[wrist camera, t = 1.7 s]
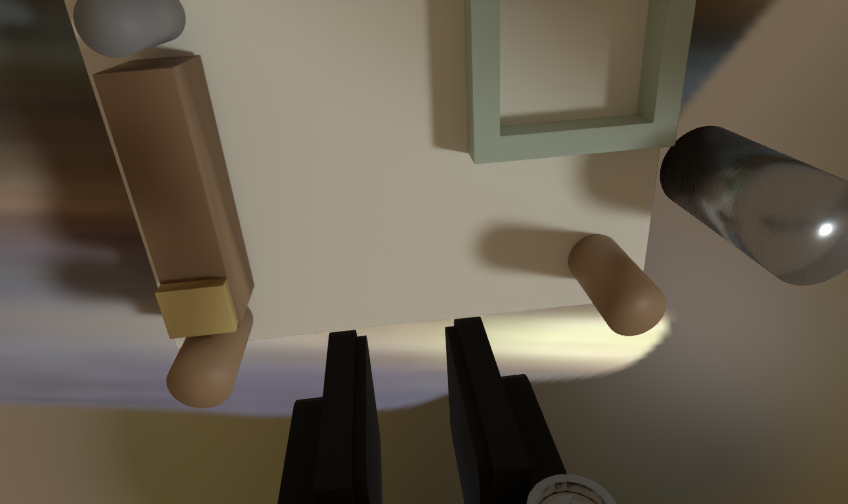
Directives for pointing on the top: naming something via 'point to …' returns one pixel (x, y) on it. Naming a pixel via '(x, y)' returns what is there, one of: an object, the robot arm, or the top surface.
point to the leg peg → (761, 203)
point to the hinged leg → (180, 190)
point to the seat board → (420, 154)
